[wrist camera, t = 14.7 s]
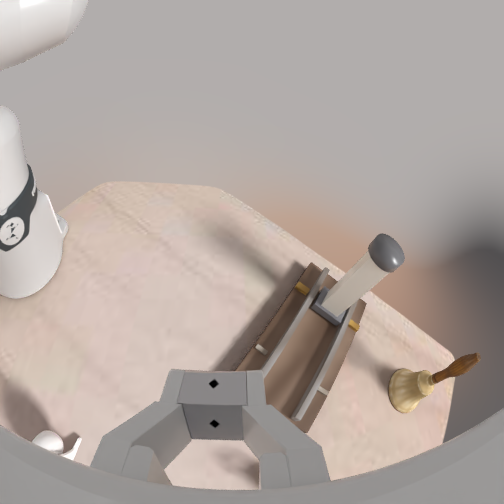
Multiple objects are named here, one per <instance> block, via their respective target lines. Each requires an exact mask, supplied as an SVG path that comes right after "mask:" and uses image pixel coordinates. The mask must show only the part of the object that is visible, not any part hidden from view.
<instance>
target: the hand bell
mask: <svg viewBox="0 0 504 504" xmlns="http://www.w3.org/2000/svg"><path fill="white" fill-rule="evenodd" d="M480 359H481V357H480V354H479V353H475V354H469V355H465V356H462V357H460V358H459V359H457V360H455V361H454V362H453V363H452V364H450V365H449V366H448V367H447V368H446V369H444V370H442V371H440V372H437V373H435V374H433V375H432V374H431V373H430V372H429V371H427V370H423V371H420V372H412V371H411V370H408V369H399V370H397V371H396V372H395V373H394V374H393V376H392V377H391V379H390V383H389V397H390V401H391V403H392V405H393V406H394V408H395V409H396V410H398V411H399V412H401V413H408V412H411V411H412V410H413V409H414V408H415V407H416V406H417V405H418V403H419V401H420V400H421V399H422V398H424V397H426V396H428V395H430V394H431V393H432V391H433V389H434V384H436V383H438V382H440V381H442V380H444V379H446V378H449V377H456V376H459V375H462V374H464V373H466V372H468V371H469V370H470V369H472V368H473V367H474V366H475V365H476V363H478V362H479V361H480Z"/></svg>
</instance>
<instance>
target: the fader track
mask: <svg viewBox="0 0 504 504" xmlns="http://www.w3.org/2000/svg"><path fill="white" fill-rule="evenodd" d="M328 272H329V269H328V268H326V267H325V268H324V270H321V269H320V268H319V267H317V266H316V265H314V264H313V263H312V262H311V263H310V264H309V266H308V267H307V268H306V270H305V271H304V273H303V274H302V276H301V277H300V279H299V280H298V282H297V283H296V285H295V286H294V288H293V289H292V291H291V292H290V294H289V295H288V297H287V298H286V300H285V301H284V303H283V304H282V305H281V307H280V308H279V310H278V311H277V313H276V314H275V316H274V317H273V318H272V320H271V321H270V323H269V324H268V326H267V327H266V328H265V330H264V331H263V333H262V334H261V335H260V337H259V338H258V340H257V341H256V342H255V344H254V345H253V347H252V348H251V349H250V351H249V352H248V353H247V355H246V356H245V357H244V359H243V360H242V362H241V363H240V364H239V366H238V367H237V368H236V370H235V371H246V372H247V371H251V370H262V371H263V378H264V387H265V396H266V405H272V406H273V407H274V408H276V409H277V410H278V411H279V412H280V413H281V414H282V415H283V416H285V417H286V418H287V419H288V420H289V421H290V422H292V423H293V424H294V425H295V426H296V427H298V428H299V429H300V430H301V431H302V432H304V433H308V431H309V429H310V427H311V425H312V424H313V422H314V420H315V418H316V416H317V415H318V413H319V411H320V409H321V407H322V405H323V403H324V401H325V399H326V397H327V395H328V393H329V391H330V389H331V387H332V385H333V383H334V381H335V379H336V377H337V375H338V372H339V370H340V368H341V366H342V364H343V361H344V359H345V357H346V354H347V352H348V350H349V347H350V345H351V343H352V340H353V338H354V335H355V333H356V332H357V331H358V329H359V327H360V326H359V323H360V320H361V317H362V315H363V312H364V309H365V306H366V304H367V303H365V302H364V301H363V300H361V299H359V300H357V301H356V302H355V303H354V304H353V305H351V306H350V307H349V308H348V309H347V310H346V312H345V314H344V316H343V319H342V321H341V323H340V324H338V325H337V326H335V325H334V324H332V323H331V322H330V321H328V320H327V319H326V318H324V317H323V316H321V315H320V314H319V313H317V312H316V311H314V310H313V309H312V308H311V307H312V305H313V303H314V301H315V300H316V298H317V296H318V294H319V292H320V291H321V289H322V288H323V287H324V286H325V287H327V288H328V289H329V290H330V289H331V288H332V287H333V286H334V285H335V284H336V283H337V282H338V281H336V280H335V279H333V278H332V277H331V276H329V275H328ZM246 382H247V380H246Z"/></svg>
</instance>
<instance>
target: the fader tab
mask: <svg viewBox="0 0 504 504" xmlns="http://www.w3.org/2000/svg"><path fill="white" fill-rule="evenodd" d="M368 249H369V250H368V251H367V252H366V254H365V255H364V256H363V257H362V258H361V259H360V260H359V261H358V262H357V263H356V264H355V265H354V266H353V267H352V268H351V269H350V270H349V271H348V272H347V273H346V274H345V275H344V276H343V277H342V278H341V279H340V280H339V281H338V282H337V283H336V284H335V285H334V286H333V287H332V288H331V289H330V290H329V289H328V288H327V287H325V286H324V287H323V288H322V289H321V291H320V292H319V294H318V296H317V298H316V300H315V301H314V303H313V305H312V307H311V308H312V309H313V310H314V311H316V312H317V313H319V314H320V315H321V316H323V317H324V318H326V319H327V320H328V321H330V322H331V323H332V324H334V325H335V326H337V325H338V324H340V323H341V321H342V319H343V316H344V314H345V312H346V310H347V309H348V308H349V307H350V306H351V305H353V304H354V303H355V302H356V301H357V300H359V299H360V298H361V297H362V296H363V295H365V294H366V293H367V292H368V291H369V290H370V289H371V288H373V287H374V286H375V285H376V284H377V283H378V282H379V281H381V280H382V278H384V277H385V276H386V275H387V274H388V273H390V272H394V271H395V270H396V269H397V268H398V267H399V266H400V265H401V264H402V263H403V262H404V259H405V257H404V253H403V250H402V248H401V247H400V245H399V244H398V243H397V242H396V241H395V240H394V239H393V238H391V237H390V236H388V235H386V234H379V235H378V236H377V237H376V238H375V239H374V240H373V241H372V242H371V243H370V245H369V247H368Z"/></svg>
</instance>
